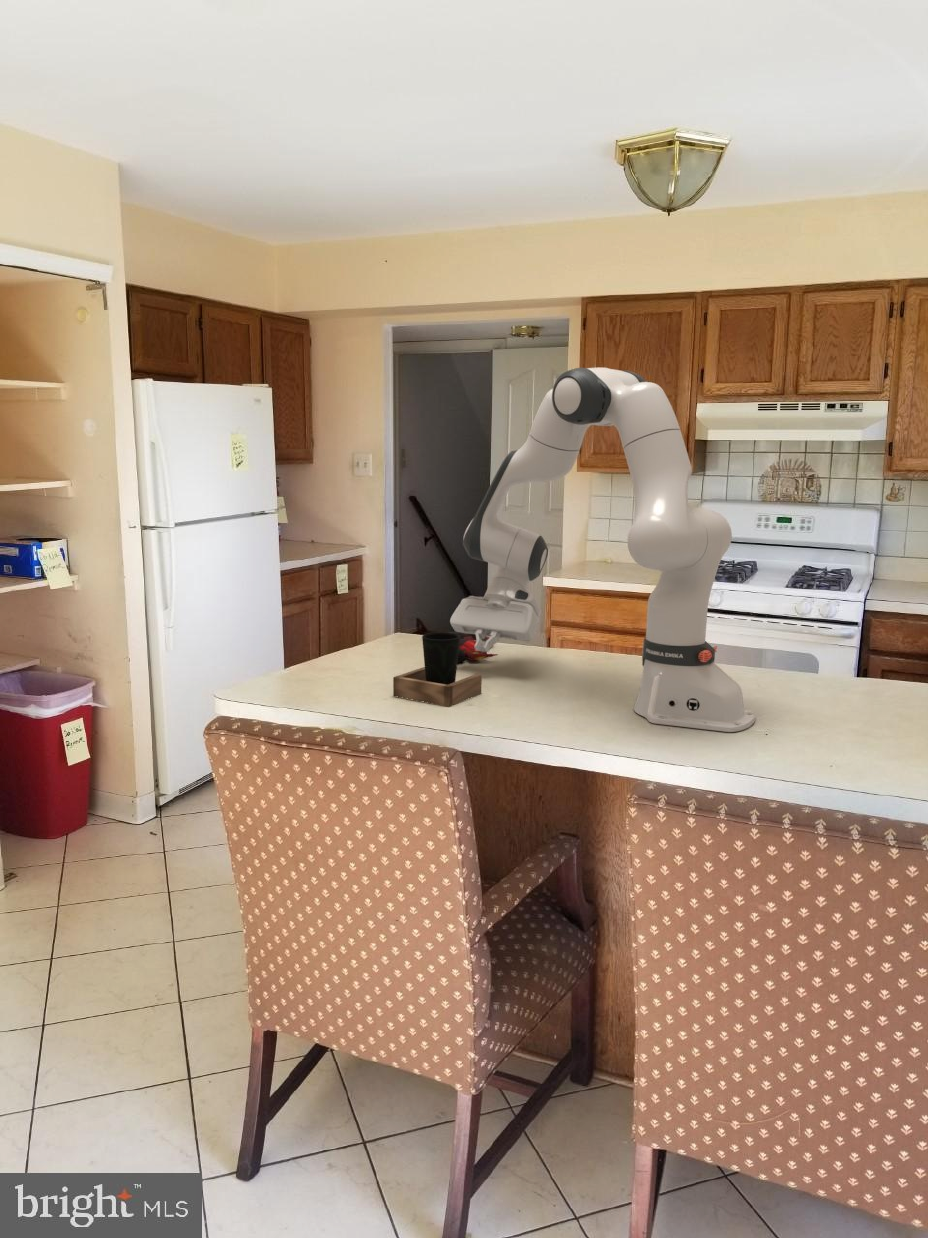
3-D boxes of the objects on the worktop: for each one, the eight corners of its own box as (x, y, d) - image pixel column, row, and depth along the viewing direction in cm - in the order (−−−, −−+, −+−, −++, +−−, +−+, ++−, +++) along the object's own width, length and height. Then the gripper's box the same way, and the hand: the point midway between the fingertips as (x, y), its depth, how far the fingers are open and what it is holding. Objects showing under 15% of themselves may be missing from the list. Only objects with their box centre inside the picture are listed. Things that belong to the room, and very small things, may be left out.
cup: (466, 692, 193) (467, 635, 191) (445, 700, 187) (446, 641, 185) (435, 686, 197) (436, 630, 195) (414, 694, 191) (414, 636, 189)
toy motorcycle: (428, 671, 217) (496, 663, 215) (425, 649, 217) (493, 641, 214) (444, 651, 242) (505, 644, 239) (441, 631, 241) (503, 624, 239)
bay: (481, 693, 192) (481, 674, 192) (449, 707, 182) (449, 687, 182) (427, 684, 199) (427, 665, 199) (393, 696, 189) (393, 677, 189)
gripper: (459, 586, 213) (435, 636, 207) (539, 595, 203) (516, 647, 197) (469, 603, 218) (446, 652, 212) (548, 612, 207) (526, 664, 201)
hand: (480, 650), depth 204 cm, fingers closed
